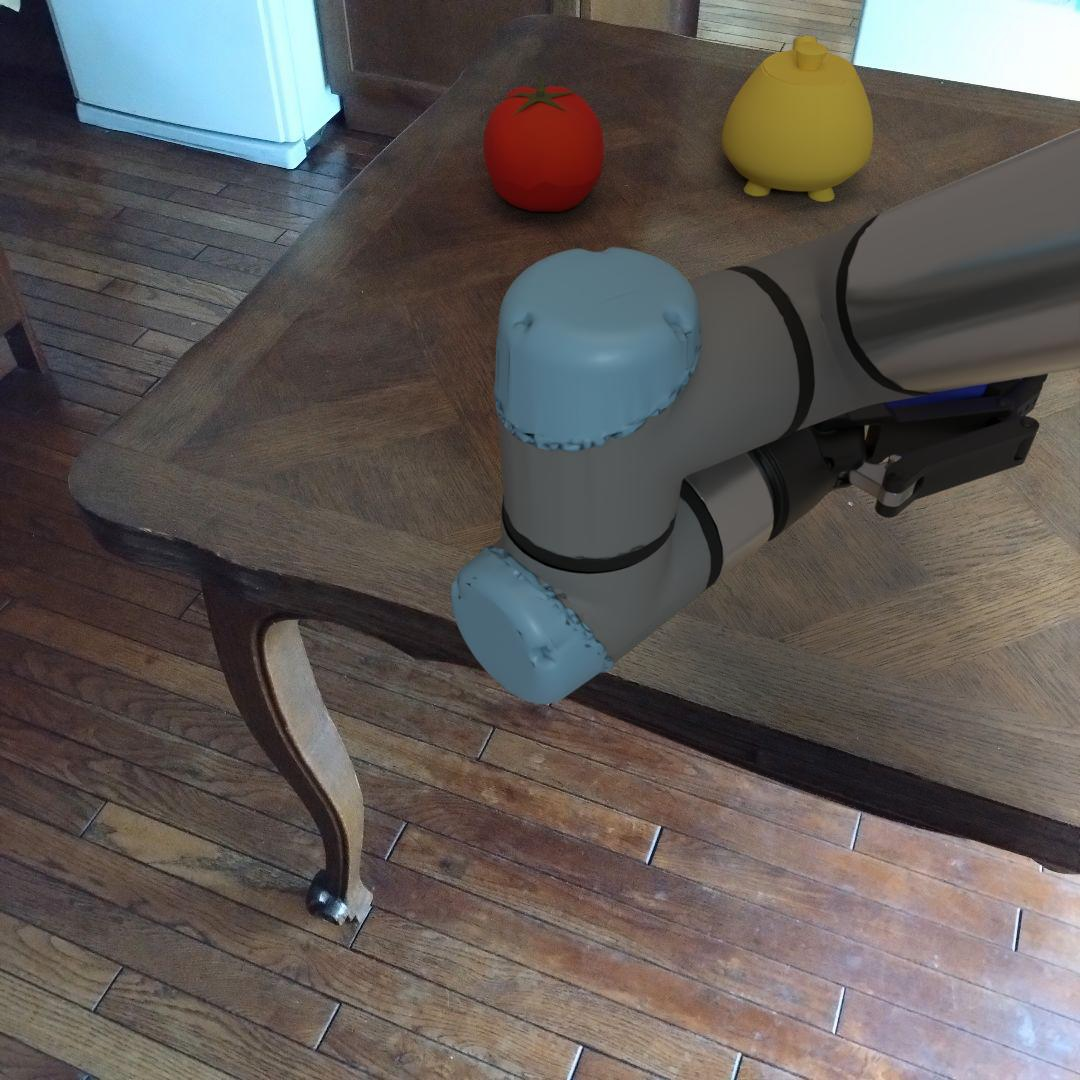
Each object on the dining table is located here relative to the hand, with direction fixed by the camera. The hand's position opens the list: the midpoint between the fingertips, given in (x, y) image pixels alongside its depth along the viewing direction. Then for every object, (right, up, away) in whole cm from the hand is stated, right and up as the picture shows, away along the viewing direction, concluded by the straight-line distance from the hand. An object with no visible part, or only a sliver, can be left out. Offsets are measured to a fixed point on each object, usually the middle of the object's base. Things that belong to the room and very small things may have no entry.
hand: (958, 316), depth 64 cm
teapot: (+2, +27, +52) cm, 59 cm away
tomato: (-25, +22, +47) cm, 57 cm away
